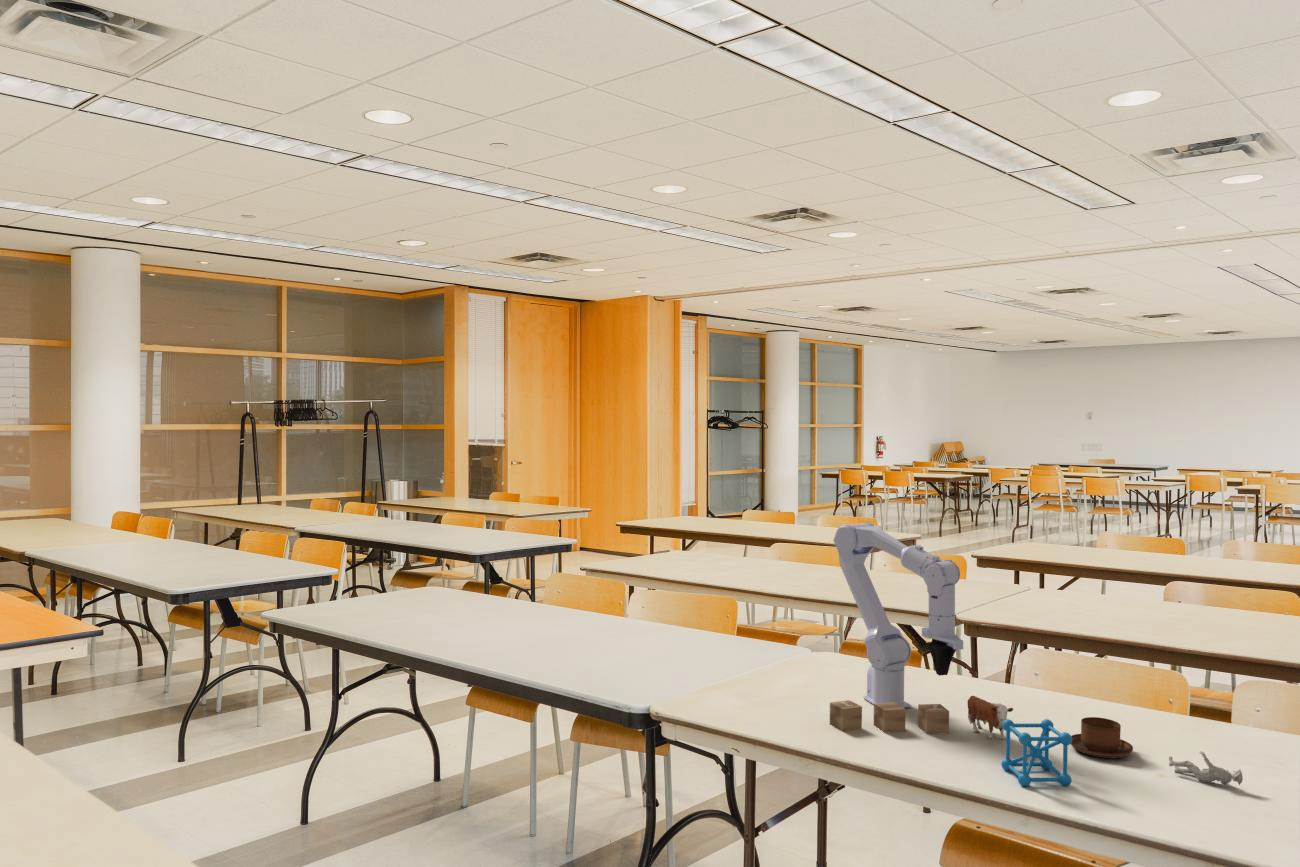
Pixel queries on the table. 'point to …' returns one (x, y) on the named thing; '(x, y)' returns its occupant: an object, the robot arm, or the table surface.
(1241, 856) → the table surface
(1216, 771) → the soldier figure
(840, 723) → the cube one
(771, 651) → the table surface
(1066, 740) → the molecular structure
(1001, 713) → the bull figurine
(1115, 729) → the cup and saucer
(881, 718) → the plain cube
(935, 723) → the cube seven
